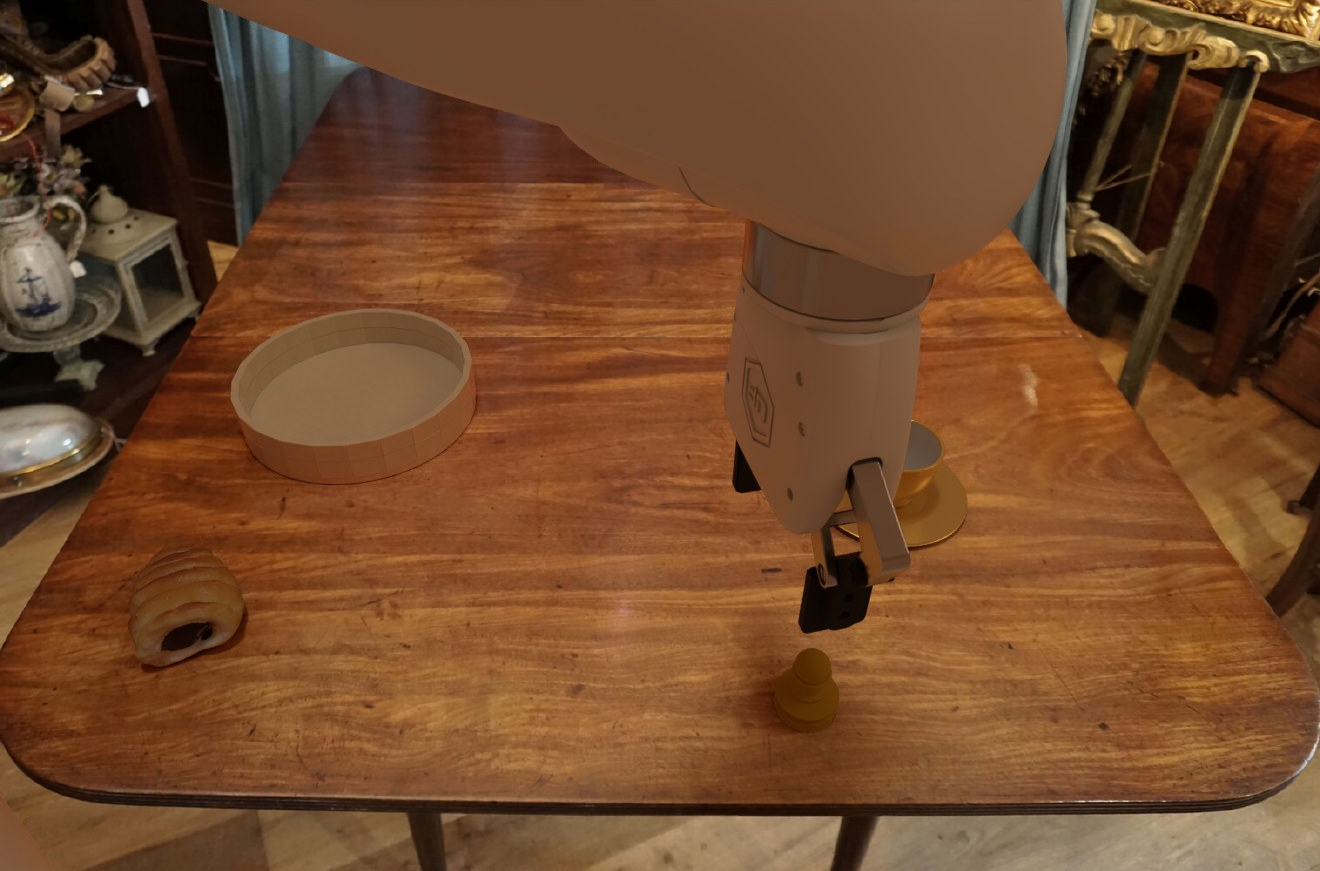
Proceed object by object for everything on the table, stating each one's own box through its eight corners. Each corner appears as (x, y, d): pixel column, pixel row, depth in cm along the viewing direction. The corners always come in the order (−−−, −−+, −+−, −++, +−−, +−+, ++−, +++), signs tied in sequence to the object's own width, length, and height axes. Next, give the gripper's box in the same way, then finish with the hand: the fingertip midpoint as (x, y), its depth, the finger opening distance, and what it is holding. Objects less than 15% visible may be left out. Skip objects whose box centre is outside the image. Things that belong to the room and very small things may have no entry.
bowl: (375, 515, 70) (366, 476, 68) (192, 437, 77) (177, 398, 74) (519, 381, 83) (515, 344, 81) (352, 324, 90) (344, 288, 87)
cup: (994, 538, 69) (1013, 484, 66) (842, 561, 67) (853, 507, 64) (926, 436, 78) (939, 384, 75) (790, 454, 76) (797, 402, 73)
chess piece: (762, 688, 59) (769, 639, 56) (817, 670, 60) (828, 620, 57) (791, 741, 56) (800, 692, 53) (848, 720, 57) (861, 671, 54)
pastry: (130, 578, 65) (111, 540, 63) (232, 547, 68) (218, 509, 65) (142, 679, 59) (121, 641, 56) (255, 640, 61) (239, 602, 59)
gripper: (685, 167, 42) (676, 453, 53) (838, 395, 29) (784, 708, 40) (840, 151, 44) (799, 432, 55) (1048, 362, 31) (941, 672, 42)
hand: (793, 549), depth 48 cm, fingers open, 9 cm apart
